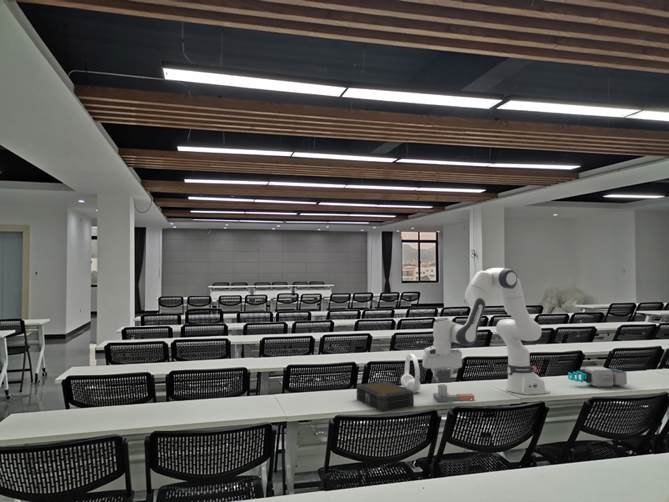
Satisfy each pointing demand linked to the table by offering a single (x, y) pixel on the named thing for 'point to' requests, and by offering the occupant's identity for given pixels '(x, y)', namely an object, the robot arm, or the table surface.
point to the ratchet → (445, 397)
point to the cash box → (385, 396)
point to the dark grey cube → (442, 375)
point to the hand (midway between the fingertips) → (442, 376)
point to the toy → (600, 376)
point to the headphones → (408, 379)
